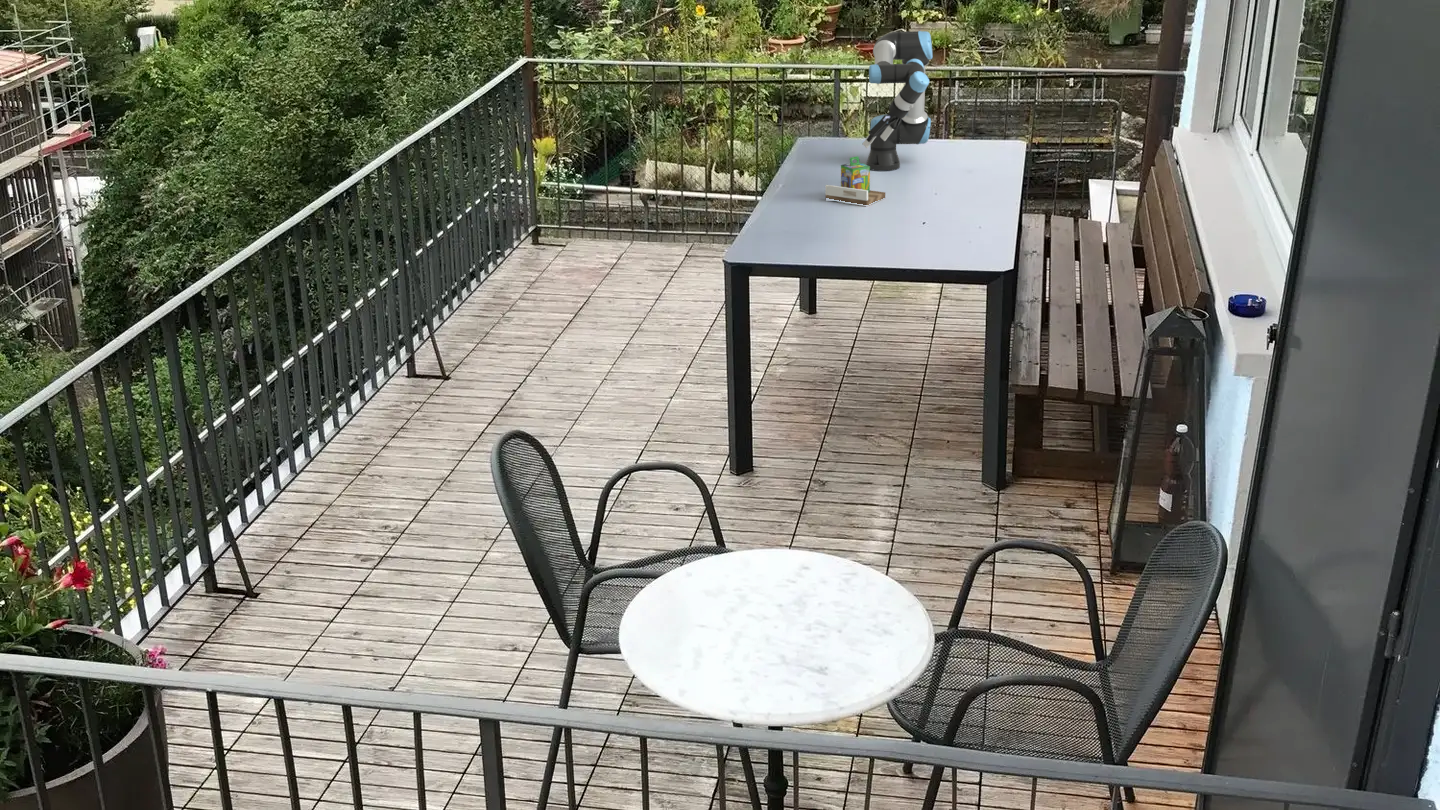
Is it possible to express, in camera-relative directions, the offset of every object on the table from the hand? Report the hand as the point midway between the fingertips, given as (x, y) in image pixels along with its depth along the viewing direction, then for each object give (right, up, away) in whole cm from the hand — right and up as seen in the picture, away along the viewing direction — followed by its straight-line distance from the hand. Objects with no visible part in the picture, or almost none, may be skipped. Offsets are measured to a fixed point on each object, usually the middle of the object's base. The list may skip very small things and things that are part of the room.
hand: (873, 142), depth 559 cm
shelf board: (-7, -23, +7) cm, 25 cm away
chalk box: (-7, -20, +8) cm, 22 cm away
